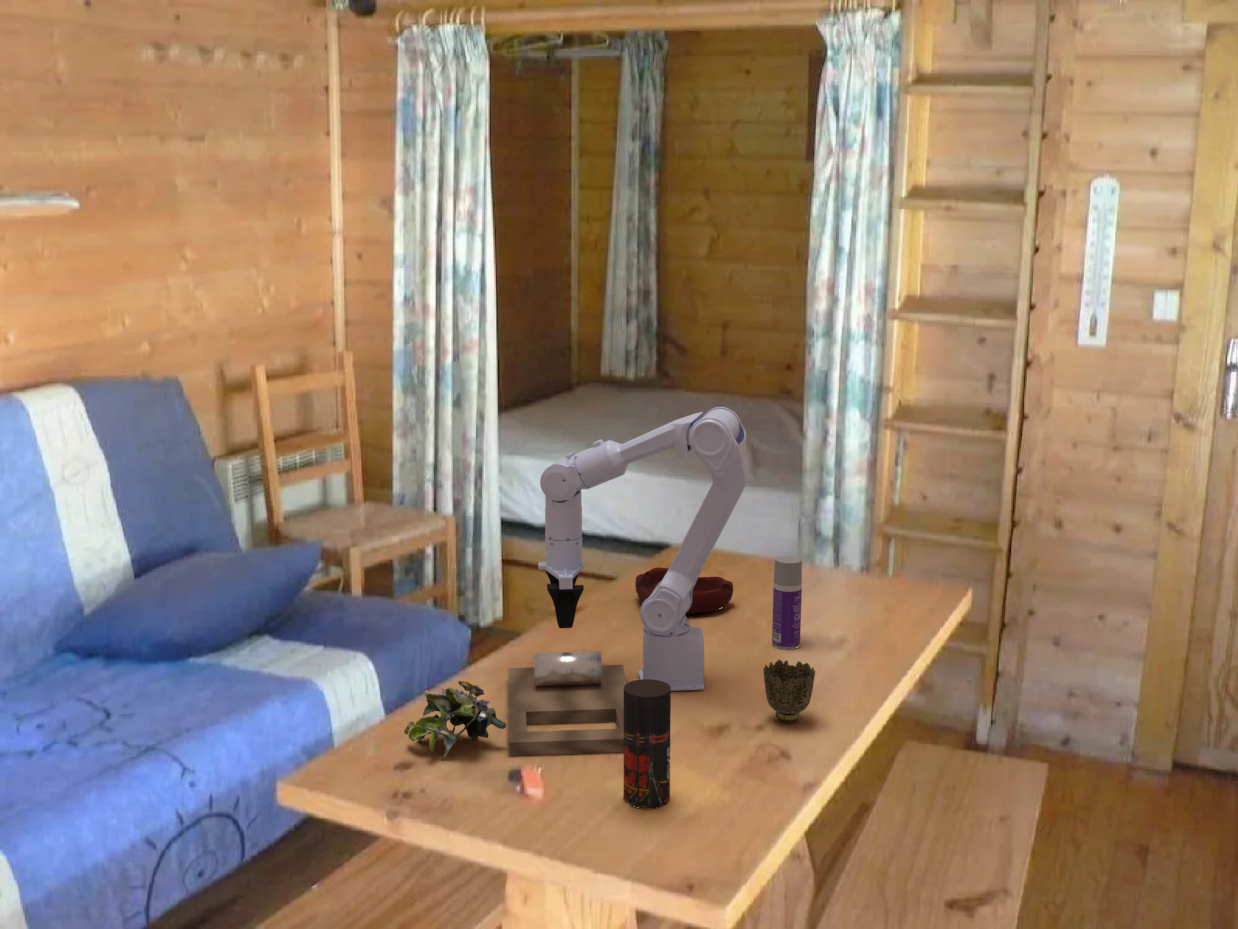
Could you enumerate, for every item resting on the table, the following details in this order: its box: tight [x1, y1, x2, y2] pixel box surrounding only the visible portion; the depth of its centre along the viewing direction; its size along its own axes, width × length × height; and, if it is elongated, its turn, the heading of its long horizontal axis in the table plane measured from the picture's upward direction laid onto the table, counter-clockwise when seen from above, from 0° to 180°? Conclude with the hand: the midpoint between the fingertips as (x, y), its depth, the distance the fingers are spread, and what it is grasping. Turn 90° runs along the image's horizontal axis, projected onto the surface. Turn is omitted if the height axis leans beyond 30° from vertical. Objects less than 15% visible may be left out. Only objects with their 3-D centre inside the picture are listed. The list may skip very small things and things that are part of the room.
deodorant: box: [623, 679, 672, 809], centre depth 174 cm, size 6×6×15 cm
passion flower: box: [403, 680, 507, 761], centre depth 189 cm, size 11×11×12 cm
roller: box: [533, 650, 603, 687], centre depth 207 cm, size 10×5×5 cm, turn 95°
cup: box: [762, 659, 816, 725], centre depth 198 cm, size 8×7×8 cm
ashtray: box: [634, 566, 734, 616], centre depth 248 cm, size 18×16×5 cm
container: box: [771, 555, 803, 650], centre depth 228 cm, size 5×5×15 cm
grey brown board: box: [507, 664, 628, 757], centre depth 202 cm, size 18×28×2 cm, turn 5°
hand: (564, 619), depth 216 cm, fingers open, 7 cm apart
